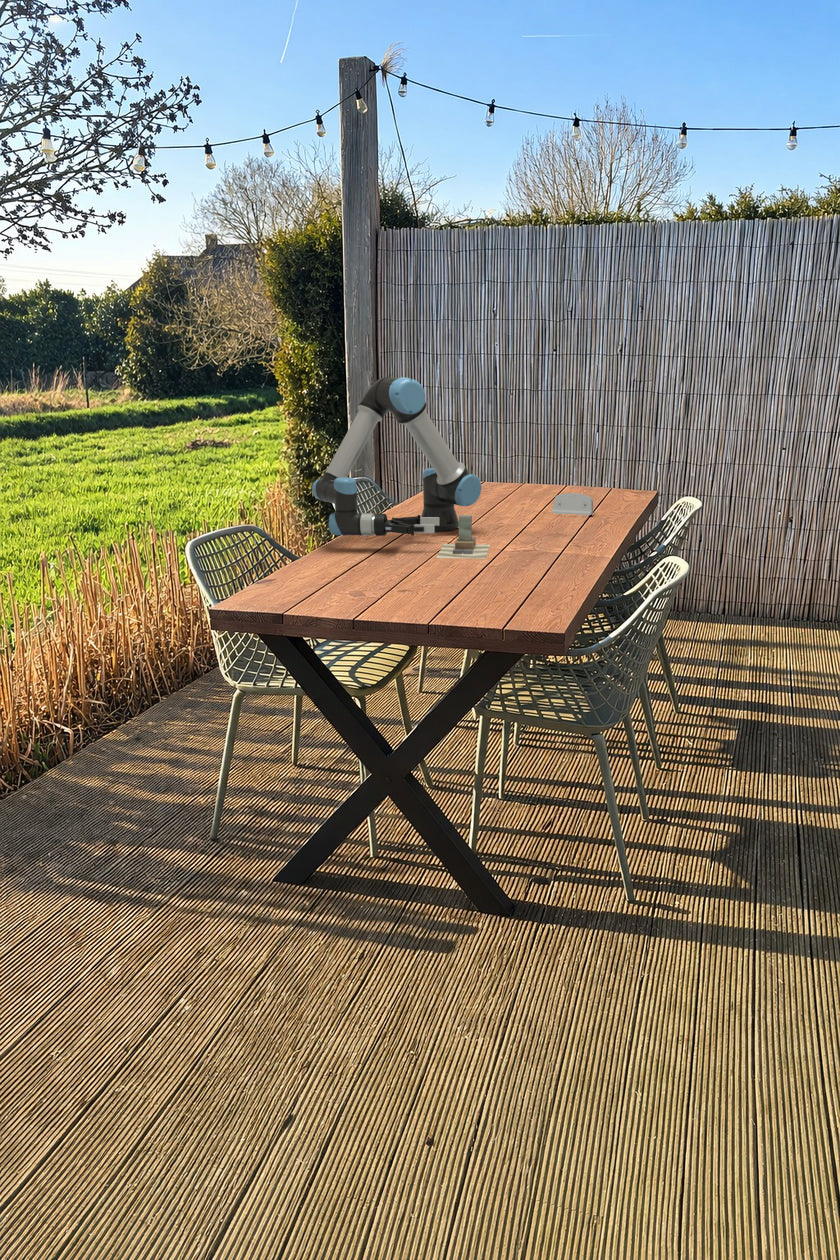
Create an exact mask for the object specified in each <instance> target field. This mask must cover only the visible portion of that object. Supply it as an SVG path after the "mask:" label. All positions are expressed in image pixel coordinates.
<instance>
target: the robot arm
mask: <svg viewBox="0 0 840 1260" xmlns="http://www.w3.org/2000/svg"><path fill="white" fill-rule="evenodd" d="M427 404H428V403H427V402H426V392H425V388H424V387H423V385H422V384H421V383H420V382H419V381H417V379H413V378H410V377H405V376H404V377H391V376H387V377H381V378H379V379H377V380H376V381H375V382H374V383H372V384H371V386H370V387H369V388H368V389H367V391H366V392H365V394H363V397H362V399H361V401H359V404H358V406H357V409H358V412H357V414H356V415H355V417H354V419H353V421H352V423H351V425H350V427H349V428H348V429H347V432H346V434H345V436H344V438H343V439H342V441H341V442H340V445H339V447H338V448H337V451H336V453H335V454H334V456H333V458H332V459H331V461H330V463H329V465H328V467H327V469H326V470H325V472H324V474H323V475H322V477H321V478H318V479H316V480H315V481H313V484H312V487H311V492H312V495H313V496H314V498H316V499H317V500H319V501H321V502H325V503H326V502H327V503H330V504H334V512H333V513H330V514H329V518H328V529H329V533H330V534H331V535H334V536H365V537H366V538H368V537H369V536H373V537H374V536H377V537H385V536H387V533H396V534H403V535H404V534H405V535H410V536H415V534H435V532H447V531H446V530H450V531H454V530H453V529H455V530H457V529H456V528H458V527H459V516H458V514H457V512H456V509H455V506H459V507H470V506H472V505H474V504H475V503H476V502H477V501H478V500H479V498H480V496H481V492H482V489H483V488H482V481H481V479H480V478H479V477H478V476H477V475H475V474H473V473H470V472H469V470H468V469H467V467H466V466H465V464H464V463H463V462H459V461H458V460H457V459H456V458H455V455H453V452H452V451H451V449H450V448H449V446H448V445H447V443H446V442H445V439H444V438H443V437H442V435H441V433H440V432H439V430H438V429H437V427H436V425H435V424H434V422H433V421H432V419H431V417H430V416H429V414H428V412H427V411H426V410H427V407H428V405H427ZM388 413H391V414H392V416H393V417H394V418H395V420H396V422H397V423H398V424H400V425H404V426H405V427H406V429H407V431H409V433H410V435H411V437H412V438H413V439H414V442H415V443H416V444H417V446H418V447H419V449H420V451H421V452H422V454H423V455H424V456H425V458H426V460H427V461H428V463H429V464H430V466H431V467H430V468H425V469H424V470H423V472H422V474H423V475H422V486H423V487H422V488H423V489H422V492H423V494H422V495H423V499H422V500H423V509H422V512H421V514H418V515H417V516H416V515H415V516H405V517H404V516H403V517H391V519H388V515H387V514H386V513H372V512H371V513H370V512H369V513H366V512H365V513H364V512H362V513H360V512H358V488H357V481H356V479H355V477H354V478H353V477H348V476H349V475H350V473H351V471H352V469H353V468H354V466H355V464H356V462H357V460H358V458H359V457H360V455H361V453H362V451H363V450H364V448H365V446H366V444H367V442H368V440H369V438H370V436H371V434H372V433H373V431H374V429H375V427H376V425H377V423H378V422H382V421H383V419H384V417H385V415H386V414H388ZM458 529H459V528H458Z"/></svg>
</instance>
